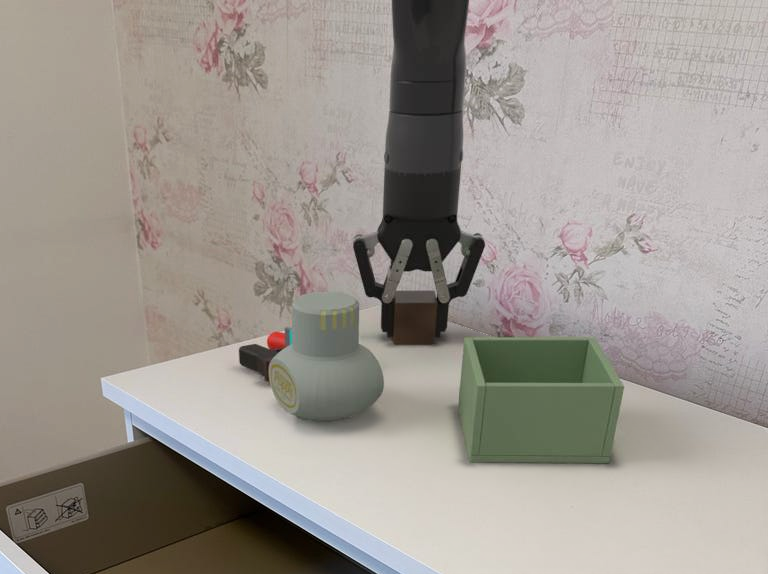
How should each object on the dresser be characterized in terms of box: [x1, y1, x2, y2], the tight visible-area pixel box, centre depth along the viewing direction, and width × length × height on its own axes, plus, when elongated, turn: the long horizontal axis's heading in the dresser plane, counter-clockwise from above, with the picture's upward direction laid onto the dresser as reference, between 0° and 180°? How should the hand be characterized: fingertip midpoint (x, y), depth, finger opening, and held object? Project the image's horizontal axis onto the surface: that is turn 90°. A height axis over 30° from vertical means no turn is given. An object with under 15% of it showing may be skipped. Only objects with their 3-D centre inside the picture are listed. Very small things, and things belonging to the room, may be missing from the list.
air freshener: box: [269, 291, 385, 422], centre depth 85 cm, size 11×8×10 cm
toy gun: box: [238, 326, 292, 383], centre depth 96 cm, size 10×12×5 cm
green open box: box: [457, 336, 625, 464], centre depth 81 cm, size 11×11×7 cm
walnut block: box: [392, 290, 437, 345], centre depth 102 cm, size 4×4×4 cm
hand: (412, 334), depth 103 cm, fingers closed on walnut block, 4 cm apart
